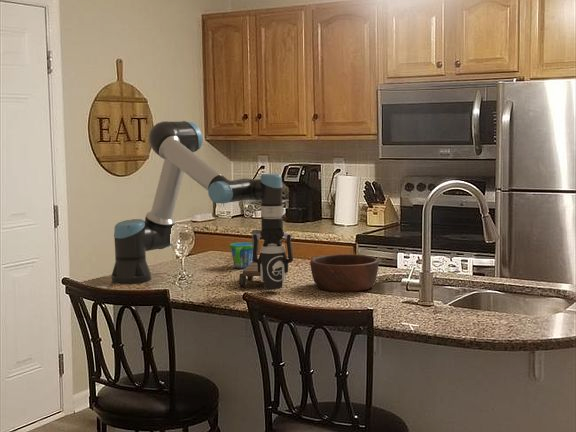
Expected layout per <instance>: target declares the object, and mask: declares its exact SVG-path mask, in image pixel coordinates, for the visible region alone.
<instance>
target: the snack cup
mask: <svg viewBox="0 0 576 432" xmlns="http://www.w3.org/2000/svg"><path fill="white" fill-rule="evenodd" d="M229 248H230V250H231V256H232V260H233V266H234V268H235V269H239V270H244V269H245V268H246V267H247V266H249V265H250V264H251V263H252V262H253V261H252V258H253V249H252V241H251V242H250V241H249V242H246V241H243V242H241V241H238V242H233V243H230V244H229Z"/></svg>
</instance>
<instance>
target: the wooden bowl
mask: <svg viewBox="0 0 576 432" xmlns="http://www.w3.org/2000/svg"><path fill="white" fill-rule="evenodd" d="M309 262H310V263H309V264H310V270H311V271H310V272H311V277H312V280H313V281H314V284H315V285H316V287H318V289H320V290H323V291H326V292H327V291H328V292H335V293H336V292H339V293H350V292H351V293H352V292H361V291H367V290H369V289H371V288H372V287H373V285H374V284H375V282H376V280H377V278H378V277H377V276H378V272H379V265H380V264H379V263H380V261H379V259H378V258H376V257H374V256H371V255H363V254H350V253H348V254H347V253H346V254H345V253H344V254H341V253H338V254H327V255H326V254H324V255H319V256H315V257H313V258H311V259H310V261H309Z"/></svg>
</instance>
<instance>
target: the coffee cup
mask: <svg viewBox="0 0 576 432" xmlns="http://www.w3.org/2000/svg"><path fill="white" fill-rule="evenodd" d="M258 251H259V252H258V253H259V255H260V254H261V262H262V271H263V288H264V289H267V290H278V289H281V288H283V284H284V282H282V264H284V261H283V254H284V253H285V254H286V252H287V249H286V248H285V245H284V244H282V246H278V247H277V244H268V246H267V247H265V246H263V244H262V245H261V246H260V248H259V249H258Z"/></svg>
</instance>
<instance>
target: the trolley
mask: <svg viewBox="0 0 576 432" xmlns="http://www.w3.org/2000/svg"><path fill="white" fill-rule="evenodd" d="M261 230H262V229H252V230H251V238H252V240H251V243H252V249H253V248H254V238H253V235H254V234H259V233H261ZM254 277H261V272H258V264H257V263H256V262H252V263H251V264H250V265H249V266H247V267H246V268H245V269H242V273H240V274H239V278H238V279H239V281H238V282H239V287H240V288H245V287H246V284H247V280H249V281H250V280H251V281H252V280H253V279H254ZM285 277H286V278H287V273H285Z"/></svg>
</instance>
